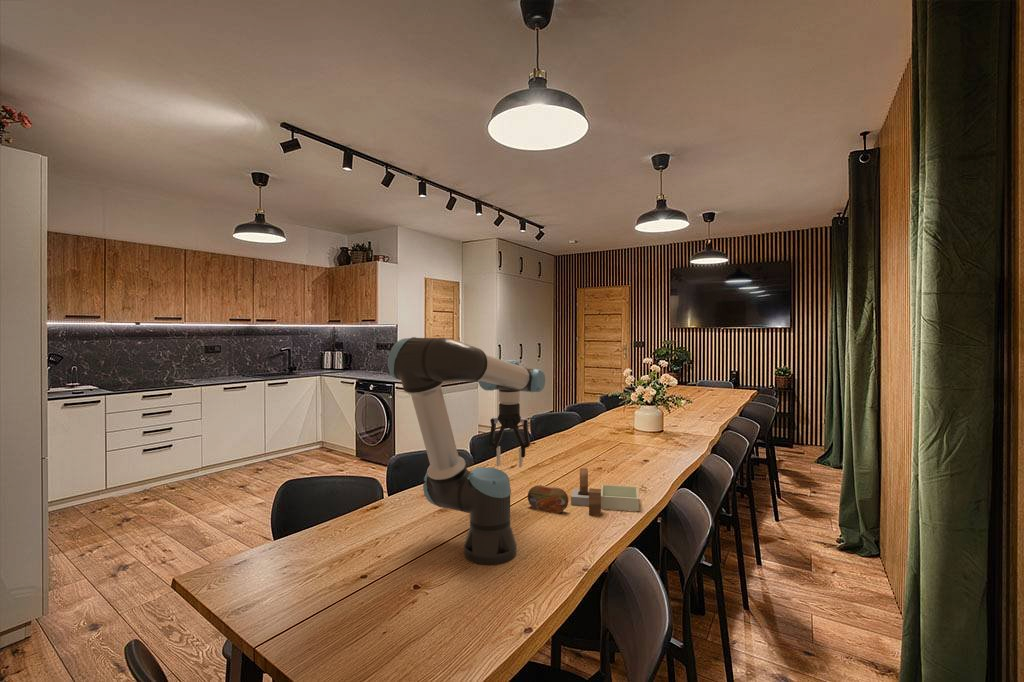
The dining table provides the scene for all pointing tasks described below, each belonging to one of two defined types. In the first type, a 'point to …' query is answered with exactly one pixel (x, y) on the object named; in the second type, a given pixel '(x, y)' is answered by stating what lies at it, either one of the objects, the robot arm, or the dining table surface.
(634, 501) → the tray
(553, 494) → the tin
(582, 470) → the dowel
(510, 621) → the dining table surface
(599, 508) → the wooden block
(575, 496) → the socket block
